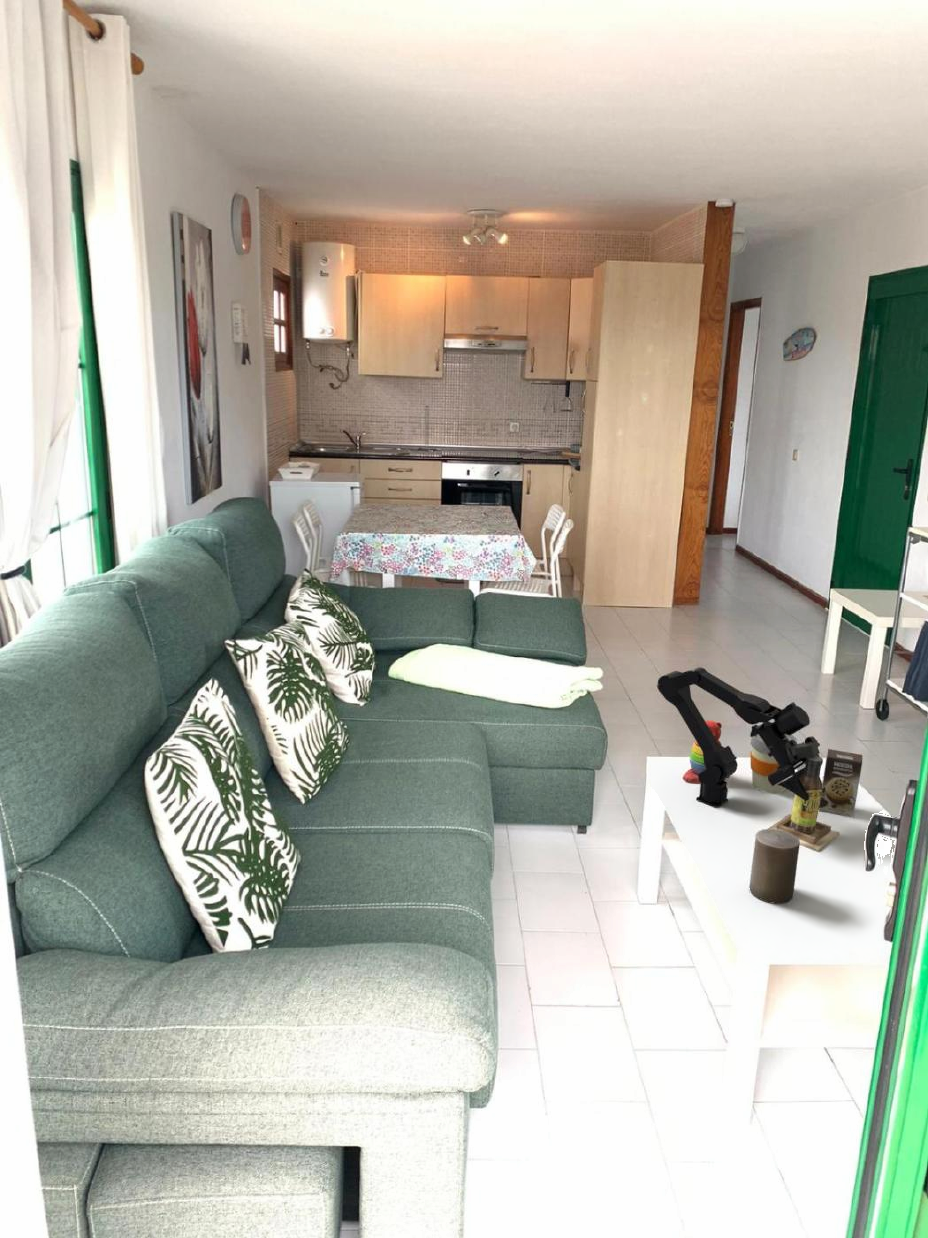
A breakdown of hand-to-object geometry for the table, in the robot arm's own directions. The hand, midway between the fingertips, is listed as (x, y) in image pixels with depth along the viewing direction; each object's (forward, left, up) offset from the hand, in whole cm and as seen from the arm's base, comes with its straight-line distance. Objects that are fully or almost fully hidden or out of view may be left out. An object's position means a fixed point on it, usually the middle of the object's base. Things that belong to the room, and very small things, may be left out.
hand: (813, 796), depth 245 cm
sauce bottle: (-1, 0, -10) cm, 10 cm away
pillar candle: (+7, -33, -11) cm, 36 cm away
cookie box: (-1, +20, -11) cm, 23 cm away
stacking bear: (-36, +10, -11) cm, 39 cm away
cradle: (-1, 0, -11) cm, 11 cm away
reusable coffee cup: (-21, +20, -11) cm, 31 cm away
